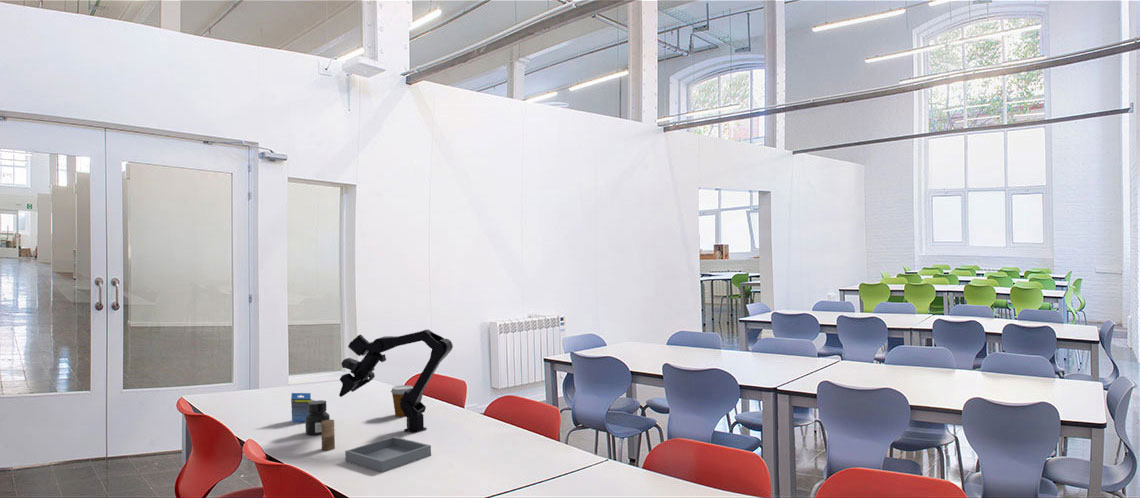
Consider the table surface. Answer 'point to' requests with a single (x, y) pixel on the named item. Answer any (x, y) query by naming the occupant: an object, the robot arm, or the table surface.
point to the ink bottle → (315, 417)
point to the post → (327, 435)
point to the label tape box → (300, 406)
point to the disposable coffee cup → (397, 395)
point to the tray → (388, 454)
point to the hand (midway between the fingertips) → (345, 393)
